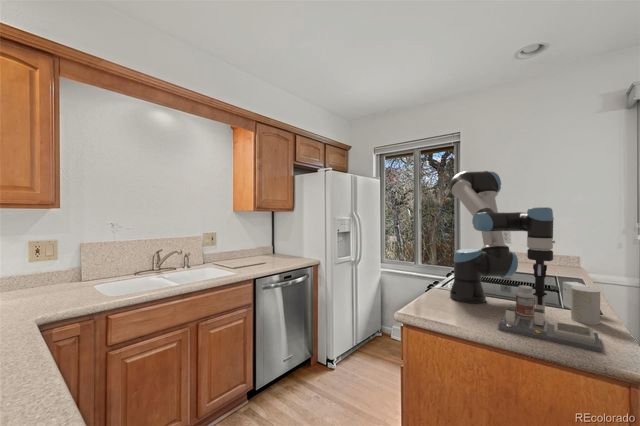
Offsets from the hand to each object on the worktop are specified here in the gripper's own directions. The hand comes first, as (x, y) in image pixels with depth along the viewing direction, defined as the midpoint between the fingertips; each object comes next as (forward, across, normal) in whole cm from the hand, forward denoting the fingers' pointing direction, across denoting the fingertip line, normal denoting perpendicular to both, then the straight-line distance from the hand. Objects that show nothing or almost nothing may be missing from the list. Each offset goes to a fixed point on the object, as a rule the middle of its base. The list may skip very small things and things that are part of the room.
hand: (540, 312), depth 105 cm
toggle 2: (+2, -6, 0) cm, 6 cm away
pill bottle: (+4, +8, +5) cm, 10 cm away
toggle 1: (+2, -10, +8) cm, 13 cm away
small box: (+4, +29, -11) cm, 31 cm away
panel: (+4, -9, -2) cm, 10 cm away
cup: (+4, +14, -13) cm, 20 cm away
